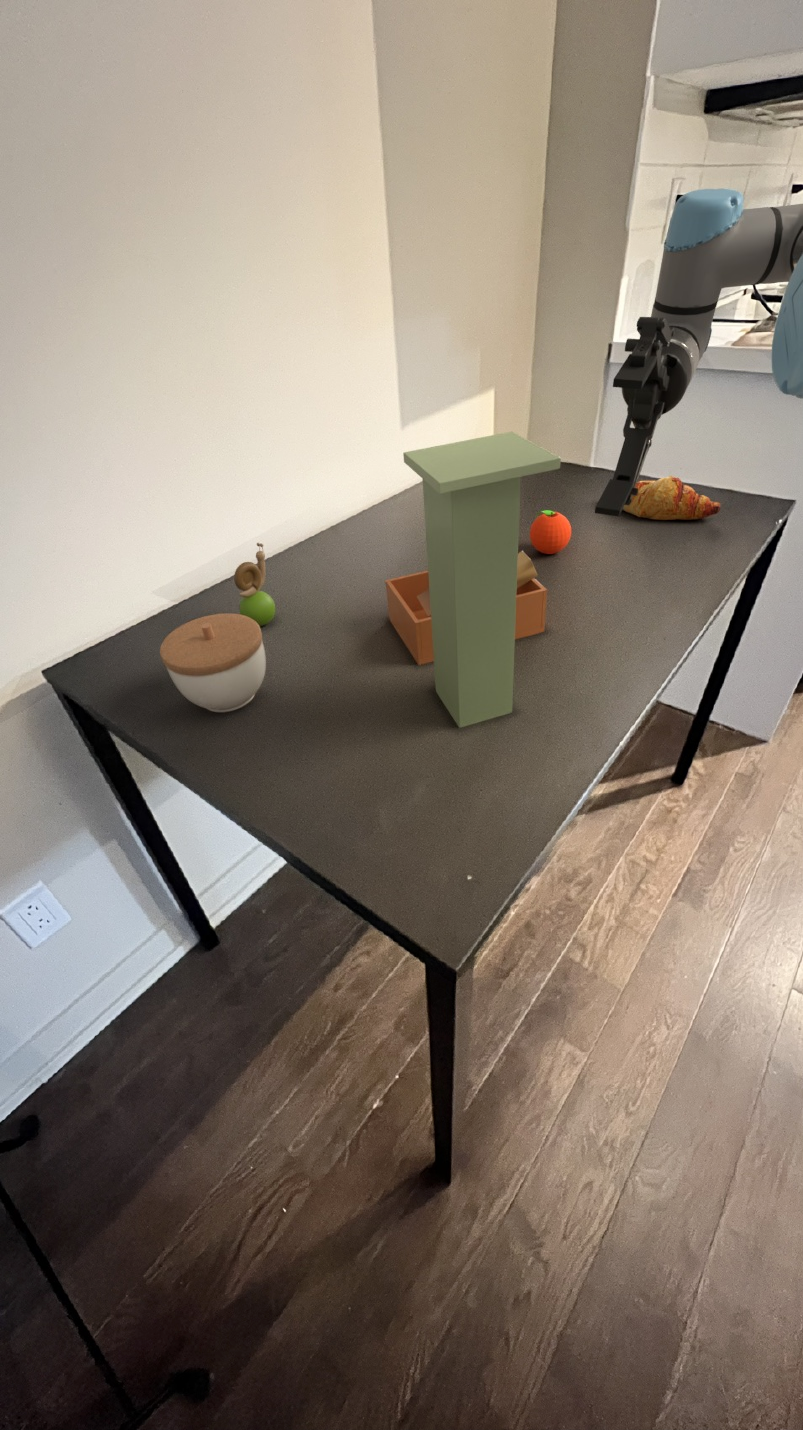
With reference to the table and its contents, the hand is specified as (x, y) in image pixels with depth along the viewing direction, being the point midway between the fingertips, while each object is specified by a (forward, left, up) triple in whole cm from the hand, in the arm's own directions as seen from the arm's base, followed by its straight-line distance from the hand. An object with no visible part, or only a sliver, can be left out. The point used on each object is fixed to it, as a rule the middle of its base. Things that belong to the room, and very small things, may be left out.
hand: (616, 453), depth 65 cm
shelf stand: (+8, +12, -27) cm, 31 cm away
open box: (+20, -1, -27) cm, 34 cm away
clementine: (+20, -29, -27) cm, 44 cm away
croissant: (+9, -52, -27) cm, 60 cm away
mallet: (+17, -2, -23) cm, 29 cm away
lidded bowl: (+38, +29, -27) cm, 55 cm away
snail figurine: (+48, +13, -27) cm, 57 cm away
